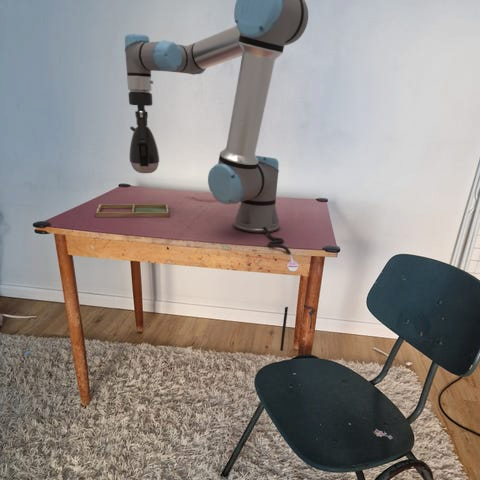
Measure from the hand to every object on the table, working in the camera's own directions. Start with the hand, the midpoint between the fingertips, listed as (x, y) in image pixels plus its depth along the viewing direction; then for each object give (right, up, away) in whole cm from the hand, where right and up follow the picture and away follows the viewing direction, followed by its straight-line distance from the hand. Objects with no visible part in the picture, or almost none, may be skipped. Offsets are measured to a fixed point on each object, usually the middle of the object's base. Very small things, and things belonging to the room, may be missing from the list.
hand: (144, 163), depth 146 cm
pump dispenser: (0, -3, +2) cm, 3 cm away
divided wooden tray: (-6, -15, +7) cm, 18 cm away
